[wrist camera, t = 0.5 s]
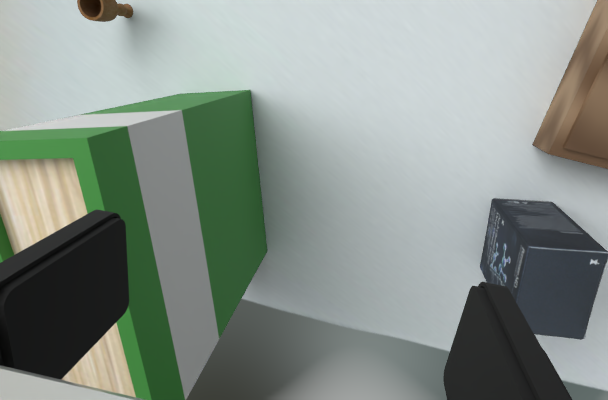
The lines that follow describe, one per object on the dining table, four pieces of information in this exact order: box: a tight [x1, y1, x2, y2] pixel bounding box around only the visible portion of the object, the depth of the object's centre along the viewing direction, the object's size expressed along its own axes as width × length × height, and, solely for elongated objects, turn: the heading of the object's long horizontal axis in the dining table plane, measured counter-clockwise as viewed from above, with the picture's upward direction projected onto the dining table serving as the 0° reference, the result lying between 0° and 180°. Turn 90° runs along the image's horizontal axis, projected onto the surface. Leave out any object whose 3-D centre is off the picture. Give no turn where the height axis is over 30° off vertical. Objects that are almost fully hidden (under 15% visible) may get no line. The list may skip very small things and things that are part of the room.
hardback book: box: [0, 90, 267, 400], centre depth 32 cm, size 18×7×24 cm, turn 3°
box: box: [480, 198, 608, 339], centre depth 35 cm, size 8×6×11 cm
